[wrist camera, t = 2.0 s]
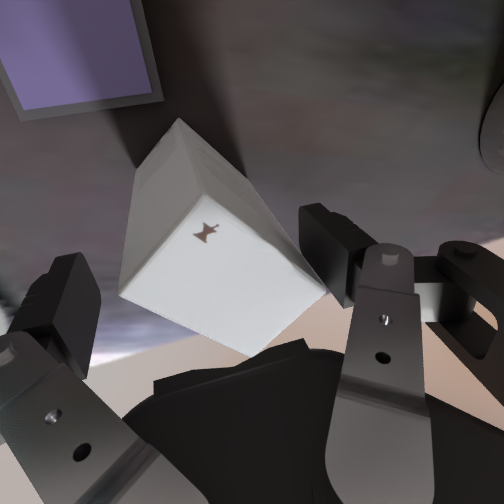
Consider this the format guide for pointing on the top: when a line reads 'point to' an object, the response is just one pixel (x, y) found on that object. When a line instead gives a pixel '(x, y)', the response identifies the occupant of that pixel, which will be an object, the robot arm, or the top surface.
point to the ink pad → (76, 56)
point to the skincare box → (210, 248)
